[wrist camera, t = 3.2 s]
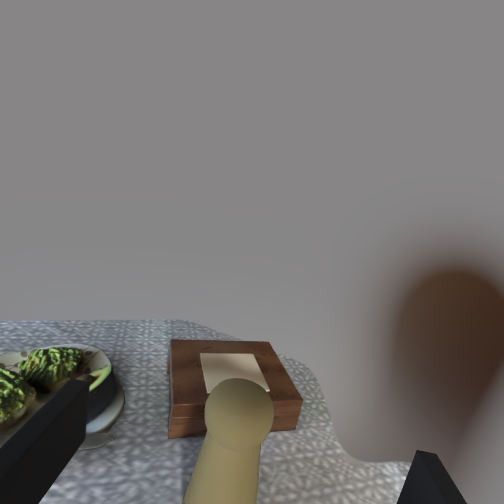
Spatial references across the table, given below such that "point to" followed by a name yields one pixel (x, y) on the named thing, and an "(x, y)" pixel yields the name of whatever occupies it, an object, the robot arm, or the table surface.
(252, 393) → the cork
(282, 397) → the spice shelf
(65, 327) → the table surface
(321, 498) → the table surface
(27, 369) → the salad plate
